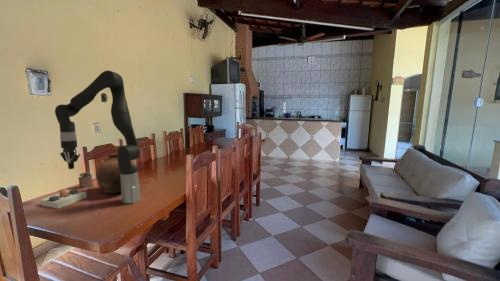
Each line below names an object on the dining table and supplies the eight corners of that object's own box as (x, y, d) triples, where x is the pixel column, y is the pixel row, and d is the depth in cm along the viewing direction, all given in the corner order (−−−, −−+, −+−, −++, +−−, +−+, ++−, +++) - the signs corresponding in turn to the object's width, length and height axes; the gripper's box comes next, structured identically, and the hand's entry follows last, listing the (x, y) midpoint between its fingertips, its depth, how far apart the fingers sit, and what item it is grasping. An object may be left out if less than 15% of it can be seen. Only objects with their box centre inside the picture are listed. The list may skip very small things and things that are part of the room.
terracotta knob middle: (70, 194, 140) (69, 189, 140) (63, 197, 136) (62, 191, 136) (65, 193, 141) (64, 188, 141) (57, 196, 137) (57, 190, 137)
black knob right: (79, 195, 146) (79, 190, 145) (73, 197, 142) (72, 192, 141) (74, 194, 147) (74, 189, 146) (68, 196, 143) (67, 191, 142)
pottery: (121, 199, 144) (119, 158, 140) (88, 195, 148) (85, 155, 145) (145, 186, 166) (143, 151, 162) (115, 183, 170) (113, 148, 167)
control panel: (86, 197, 145) (86, 192, 145) (57, 208, 130) (57, 203, 129) (70, 194, 149) (70, 189, 148) (40, 204, 133) (40, 199, 133)
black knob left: (60, 201, 135) (60, 196, 135) (53, 204, 131) (52, 199, 131) (55, 200, 136) (55, 195, 136) (47, 203, 133) (47, 198, 132)
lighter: (91, 184, 167) (90, 170, 165) (93, 185, 165) (92, 171, 163) (78, 188, 160) (77, 173, 158) (80, 189, 158) (79, 174, 157)
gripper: (83, 139, 141) (85, 168, 143) (66, 138, 144) (69, 166, 147) (70, 141, 134) (73, 171, 136) (53, 139, 137) (56, 169, 140)
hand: (71, 168), depth 142 cm, fingers closed
